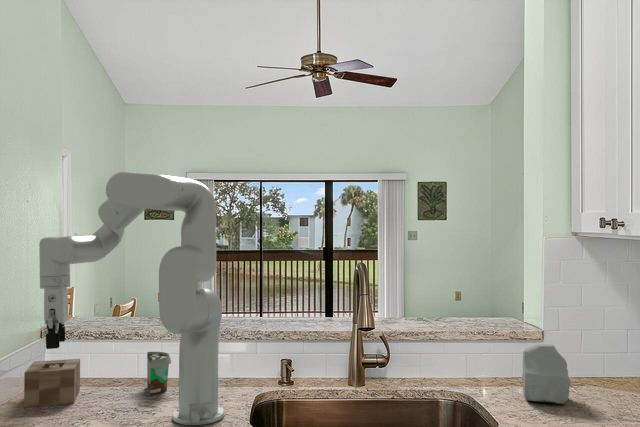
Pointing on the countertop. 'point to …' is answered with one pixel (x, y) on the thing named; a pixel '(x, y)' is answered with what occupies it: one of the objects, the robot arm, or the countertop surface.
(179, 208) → the robot arm
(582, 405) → the countertop surface
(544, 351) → the stone
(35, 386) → the socket block
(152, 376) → the food container
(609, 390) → the countertop surface
